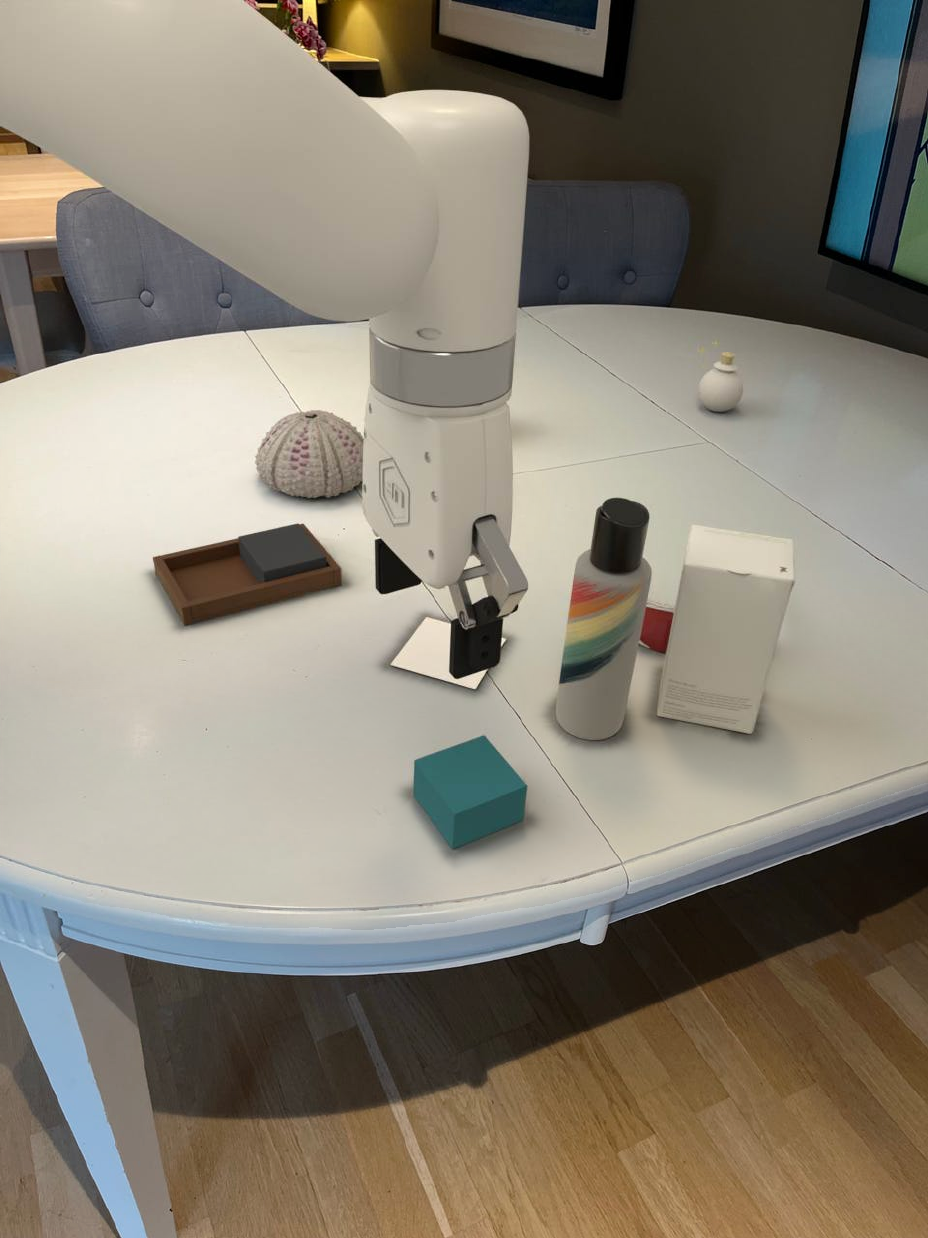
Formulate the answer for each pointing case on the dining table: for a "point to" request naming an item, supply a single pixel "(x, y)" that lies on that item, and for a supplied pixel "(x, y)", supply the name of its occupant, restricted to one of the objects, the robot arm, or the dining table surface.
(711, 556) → the cosmetic box
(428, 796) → the teal block
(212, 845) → the dining table surface
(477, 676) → the coaster
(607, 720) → the grey striped bottle
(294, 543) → the charcoal pad
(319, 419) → the sea urchin shell
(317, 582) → the frame
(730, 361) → the ornament
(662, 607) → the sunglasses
